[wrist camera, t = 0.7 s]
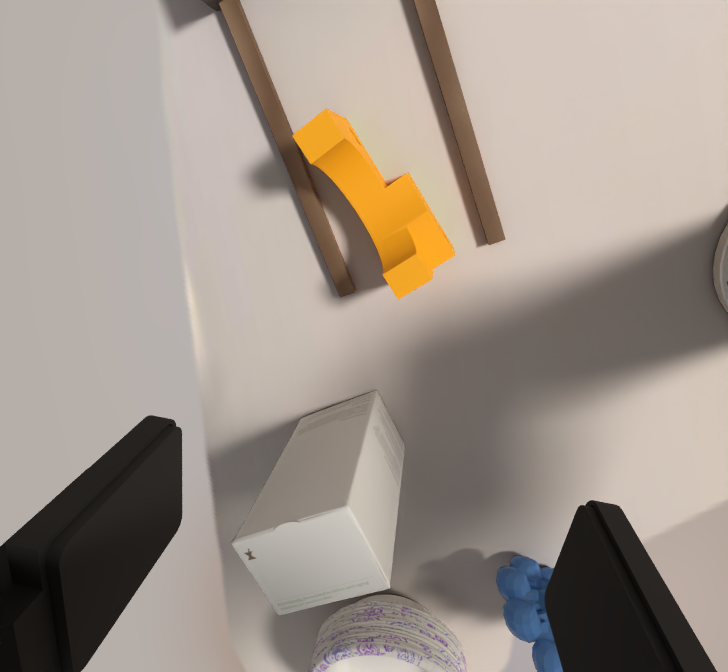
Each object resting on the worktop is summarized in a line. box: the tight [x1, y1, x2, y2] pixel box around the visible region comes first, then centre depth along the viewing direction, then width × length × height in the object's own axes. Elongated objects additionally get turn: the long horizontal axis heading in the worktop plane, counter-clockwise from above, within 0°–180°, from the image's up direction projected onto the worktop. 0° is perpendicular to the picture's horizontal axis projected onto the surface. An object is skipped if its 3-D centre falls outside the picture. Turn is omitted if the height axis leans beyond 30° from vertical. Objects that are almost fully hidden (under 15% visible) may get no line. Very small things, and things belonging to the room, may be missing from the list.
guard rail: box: [202, 0, 505, 297], centre depth 30 cm, size 14×24×4 cm, turn 22°
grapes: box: [496, 555, 563, 672], centre depth 37 cm, size 12×7×12 cm, turn 64°
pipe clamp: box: [292, 109, 455, 299], centre depth 31 cm, size 12×4×6 cm, turn 34°
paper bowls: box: [308, 594, 467, 672], centre depth 45 cm, size 15×15×8 cm
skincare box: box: [231, 391, 405, 616], centre depth 34 cm, size 8×7×16 cm
